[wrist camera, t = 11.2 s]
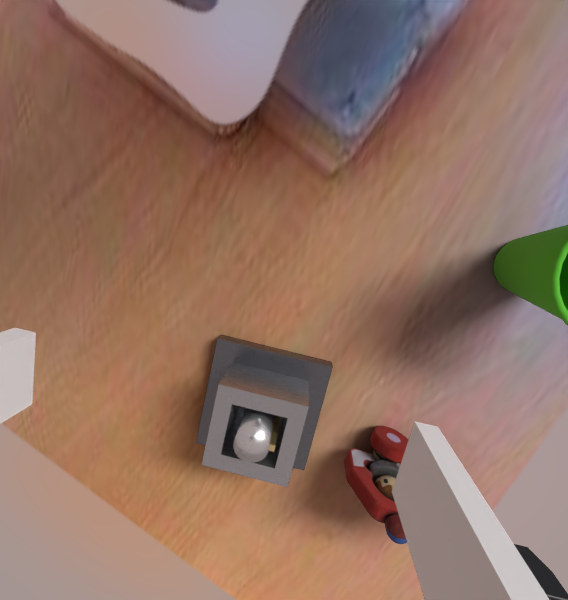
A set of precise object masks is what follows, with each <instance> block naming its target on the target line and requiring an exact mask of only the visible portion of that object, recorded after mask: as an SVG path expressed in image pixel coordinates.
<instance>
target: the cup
mask: <svg viewBox="0 0 568 600" xmlns="http://www.w3.org/2000/svg"><path fill="white" fill-rule="evenodd" d="M493 270H494V275H495V277H496V280H497V281H498V283H499V284H500V285H501V286H502V287H503V288H504V289H506V290H508V291H510V292H512V293H514V294H516V295H517V296H519V297H521V298H523V299H525V300H527V301H529V302H531V303H532V304H534V305H536V306H538V307H540V308H542V309H544V310H546V311H547V312H549V313H551V314H553V315H555V316H557V317H559V318H561V319H562V320H563V321H564V323H566V324H567V325H568V225H566V226H562V227H558V228H555V229H551V230H547V231H544V232H540V233H536V234H533V235H529V236H525V237H522V238H518V239H515V240H512V241H511V242H509V243H507V244H506V245H505V246H504V247H503V248H502V249H501V250H500V251H499V252H498V254H497V255H496V258H495V260H494V265H493Z"/></svg>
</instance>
